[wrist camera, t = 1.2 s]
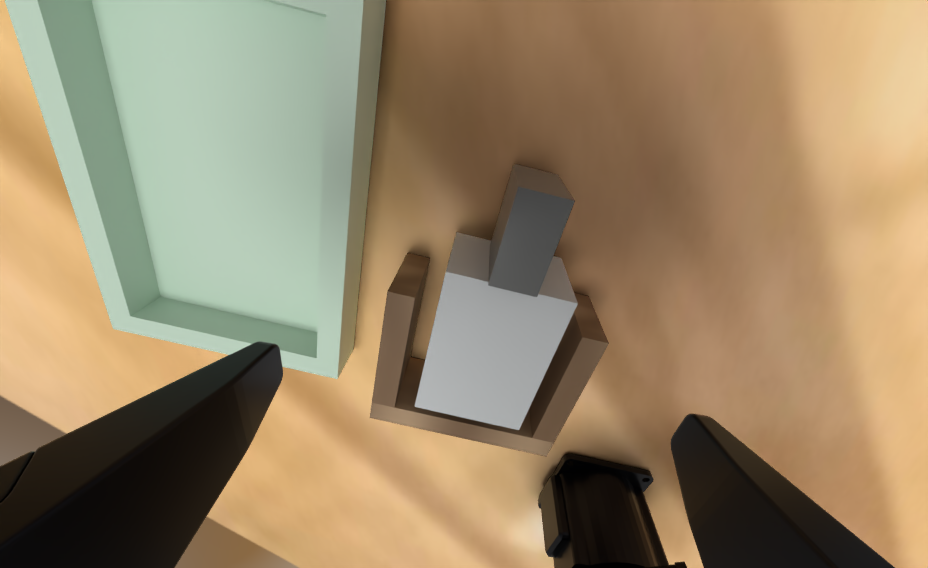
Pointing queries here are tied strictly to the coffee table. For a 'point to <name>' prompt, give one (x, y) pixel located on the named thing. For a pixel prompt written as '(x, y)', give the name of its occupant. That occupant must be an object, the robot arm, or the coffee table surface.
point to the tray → (216, 161)
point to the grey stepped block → (502, 308)
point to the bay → (398, 406)
